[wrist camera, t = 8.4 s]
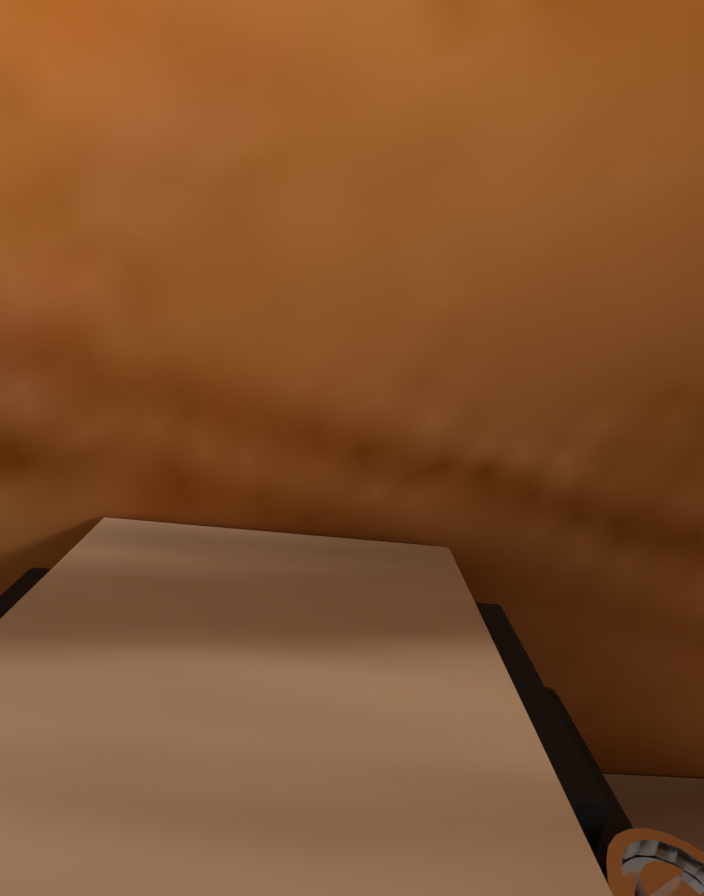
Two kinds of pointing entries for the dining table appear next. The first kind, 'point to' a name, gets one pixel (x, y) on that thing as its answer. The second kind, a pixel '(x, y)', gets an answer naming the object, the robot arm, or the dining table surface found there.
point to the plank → (662, 804)
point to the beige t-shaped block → (269, 727)
